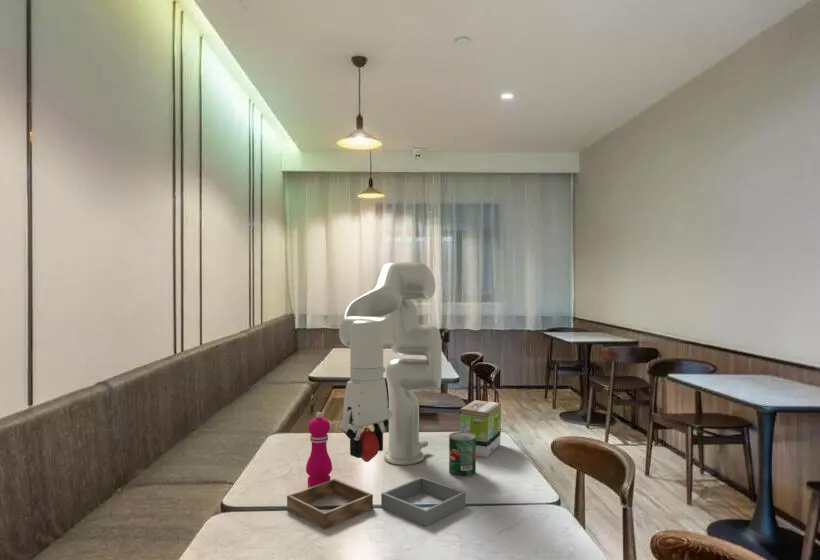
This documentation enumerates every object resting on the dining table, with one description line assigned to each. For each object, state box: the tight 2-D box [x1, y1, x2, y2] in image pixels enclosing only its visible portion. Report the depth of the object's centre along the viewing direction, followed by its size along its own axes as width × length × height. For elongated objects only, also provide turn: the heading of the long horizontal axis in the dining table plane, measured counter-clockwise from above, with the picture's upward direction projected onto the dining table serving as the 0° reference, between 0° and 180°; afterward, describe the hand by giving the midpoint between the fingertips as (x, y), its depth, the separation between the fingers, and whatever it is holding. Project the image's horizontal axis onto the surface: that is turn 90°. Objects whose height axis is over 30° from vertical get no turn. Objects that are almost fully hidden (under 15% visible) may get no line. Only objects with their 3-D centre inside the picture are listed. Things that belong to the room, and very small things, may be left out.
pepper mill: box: [305, 411, 333, 488], centre depth 149 cm, size 7×7×20 cm
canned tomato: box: [448, 431, 477, 479], centre depth 158 cm, size 8×8×11 cm
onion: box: [359, 426, 380, 463], centre depth 122 cm, size 6×6×8 cm
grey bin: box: [380, 476, 467, 527], centre depth 135 cm, size 15×15×4 cm
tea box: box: [459, 399, 502, 458], centre depth 179 cm, size 15×10×15 cm, turn 155°
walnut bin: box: [286, 478, 374, 530], centre depth 133 cm, size 15×15×4 cm
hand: (366, 452), depth 122 cm, fingers closed on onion, 5 cm apart
